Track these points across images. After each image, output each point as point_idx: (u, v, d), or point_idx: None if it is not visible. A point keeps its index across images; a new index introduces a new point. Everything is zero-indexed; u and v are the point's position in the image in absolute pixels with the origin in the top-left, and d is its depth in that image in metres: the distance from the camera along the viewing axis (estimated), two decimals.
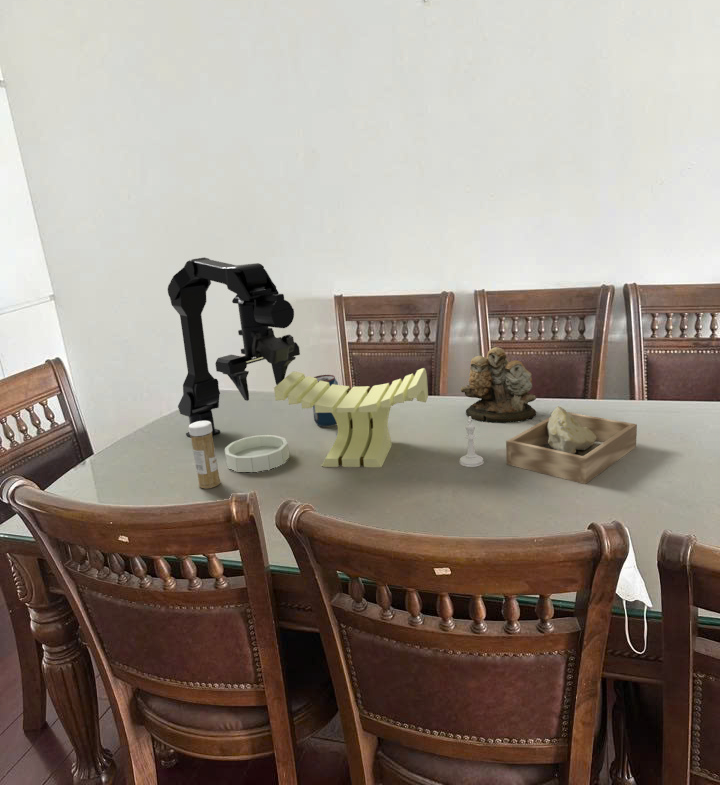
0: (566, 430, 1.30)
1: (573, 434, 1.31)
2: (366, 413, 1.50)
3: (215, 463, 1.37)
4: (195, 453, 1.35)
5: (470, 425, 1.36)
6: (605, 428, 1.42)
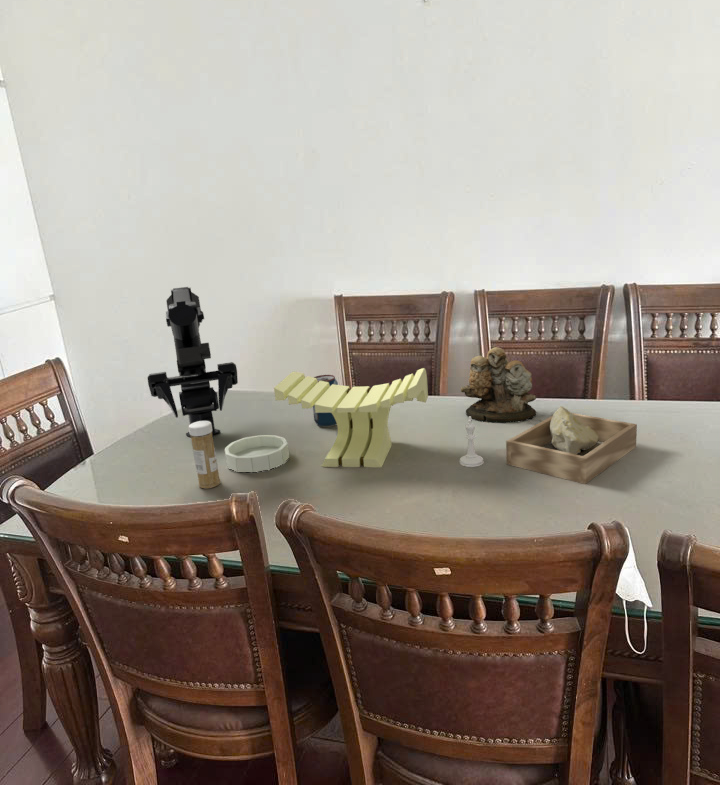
0: (571, 430, 1.30)
1: (578, 434, 1.31)
2: (366, 413, 1.50)
3: (215, 463, 1.37)
4: (195, 453, 1.35)
5: (470, 425, 1.36)
6: (605, 428, 1.42)
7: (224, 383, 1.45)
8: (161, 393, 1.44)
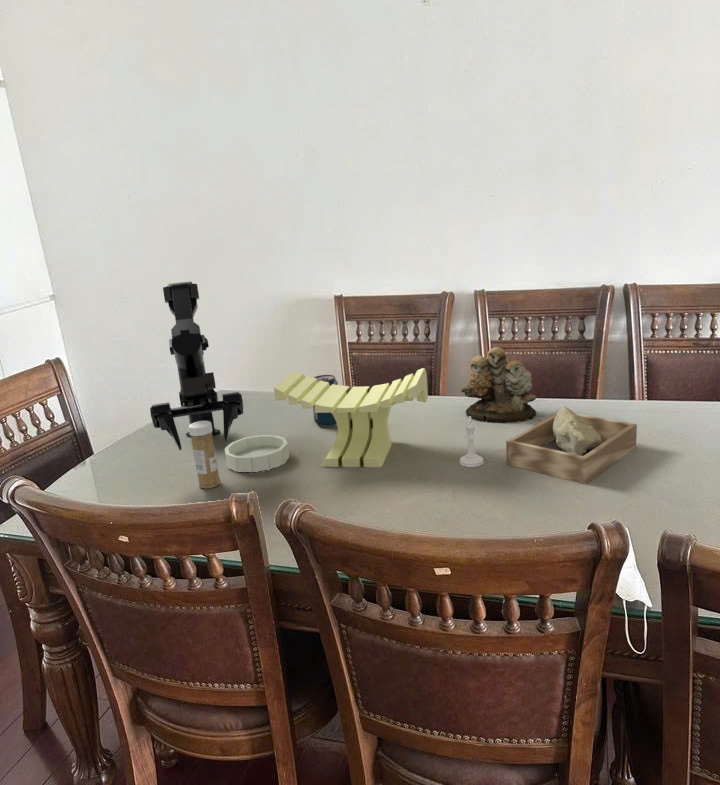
0: (578, 430, 1.30)
1: (585, 433, 1.31)
2: (366, 413, 1.50)
3: (215, 463, 1.37)
4: (195, 453, 1.35)
5: (470, 425, 1.36)
6: (605, 428, 1.42)
7: (229, 414, 1.40)
8: (164, 424, 1.39)
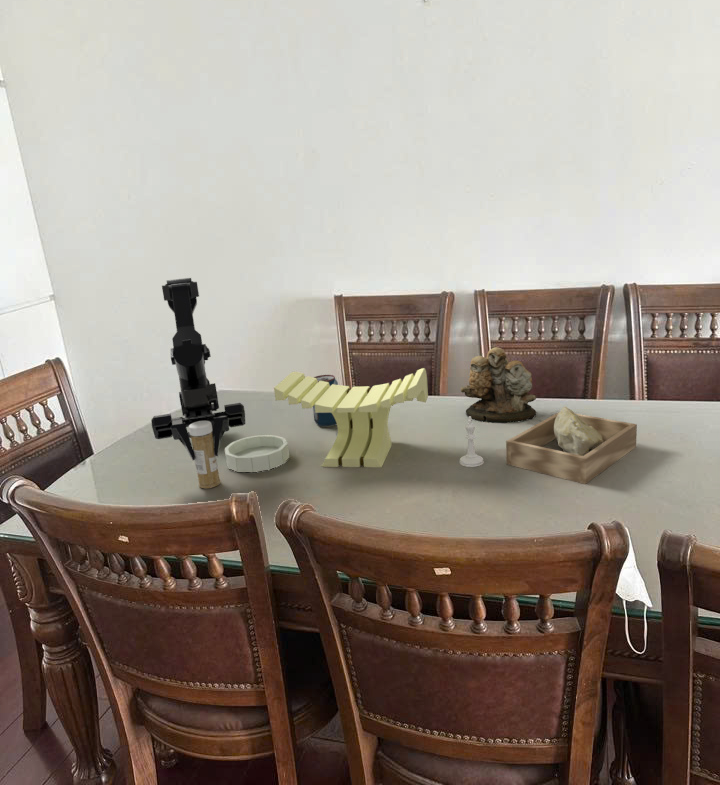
0: (582, 430, 1.30)
1: (588, 434, 1.30)
2: (366, 413, 1.50)
3: (215, 463, 1.37)
4: (195, 453, 1.35)
5: (470, 425, 1.36)
6: (605, 428, 1.42)
7: (220, 427, 1.38)
8: (177, 434, 1.38)
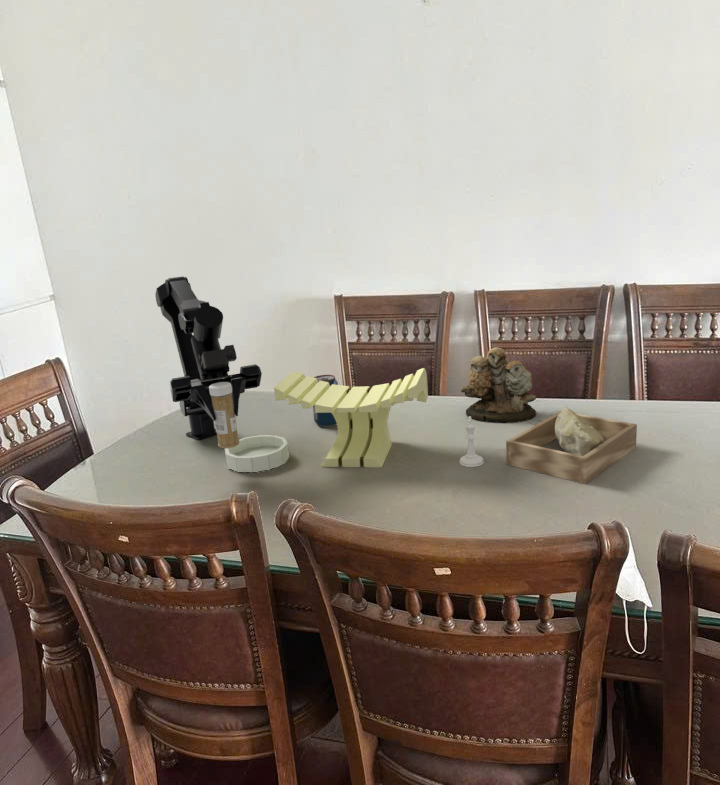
0: (585, 430, 1.29)
1: (591, 434, 1.30)
2: (366, 413, 1.50)
3: (235, 423, 1.40)
4: (216, 413, 1.37)
5: (470, 425, 1.36)
6: (605, 428, 1.42)
7: (238, 388, 1.41)
8: (195, 396, 1.40)
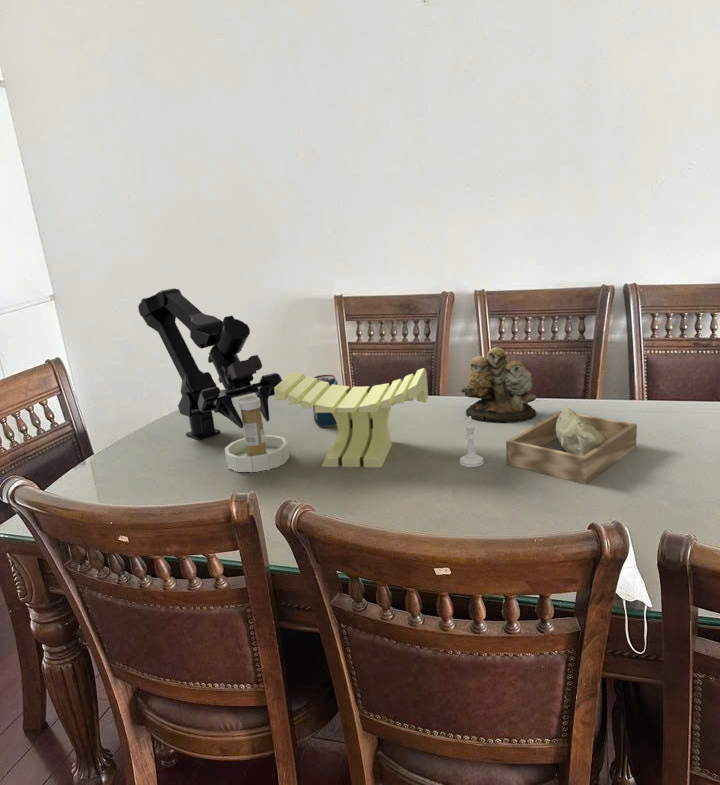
0: (588, 431, 1.29)
1: (594, 434, 1.30)
2: (366, 413, 1.50)
3: None
4: (247, 426, 1.45)
5: (470, 425, 1.36)
6: (605, 428, 1.42)
7: (267, 394, 1.49)
8: (220, 406, 1.46)
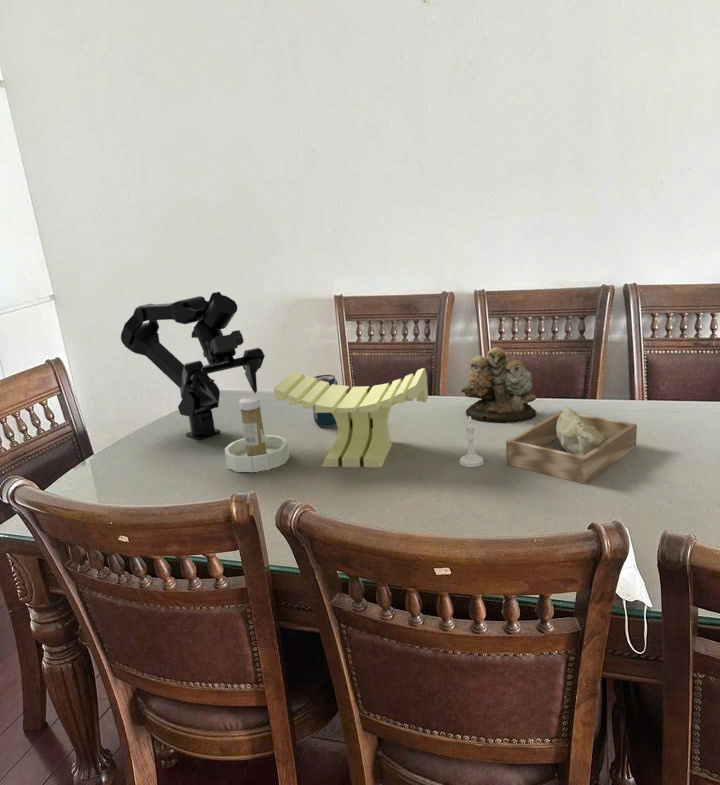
0: (588, 431, 1.29)
1: (594, 434, 1.30)
2: (366, 413, 1.50)
3: None
4: (247, 426, 1.45)
5: (470, 425, 1.36)
6: (605, 428, 1.42)
7: (255, 367, 1.55)
8: (196, 381, 1.51)
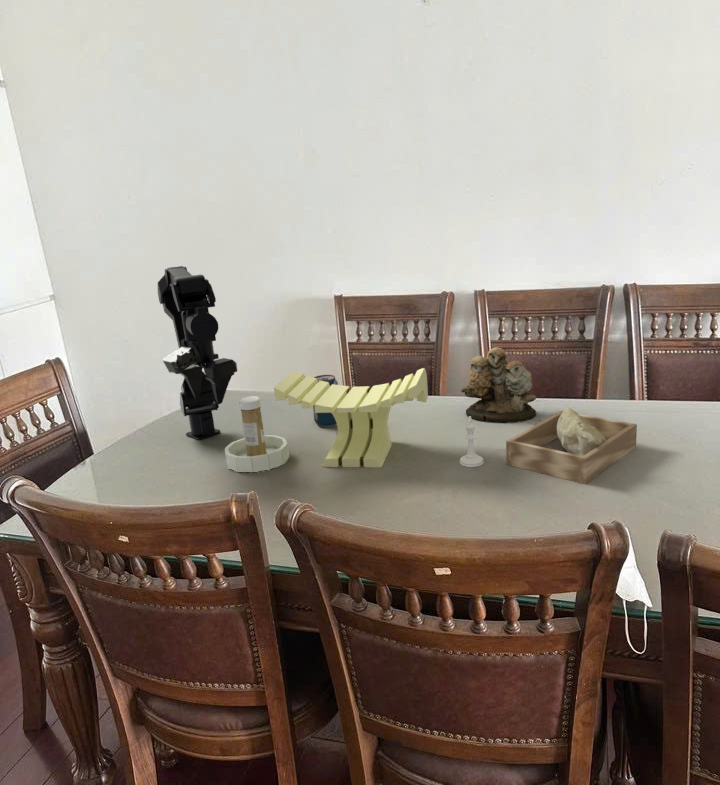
0: (588, 431, 1.29)
1: (594, 434, 1.30)
2: (366, 413, 1.50)
3: None
4: (247, 426, 1.45)
5: (470, 425, 1.36)
6: (605, 428, 1.42)
7: (214, 383, 1.45)
8: None
